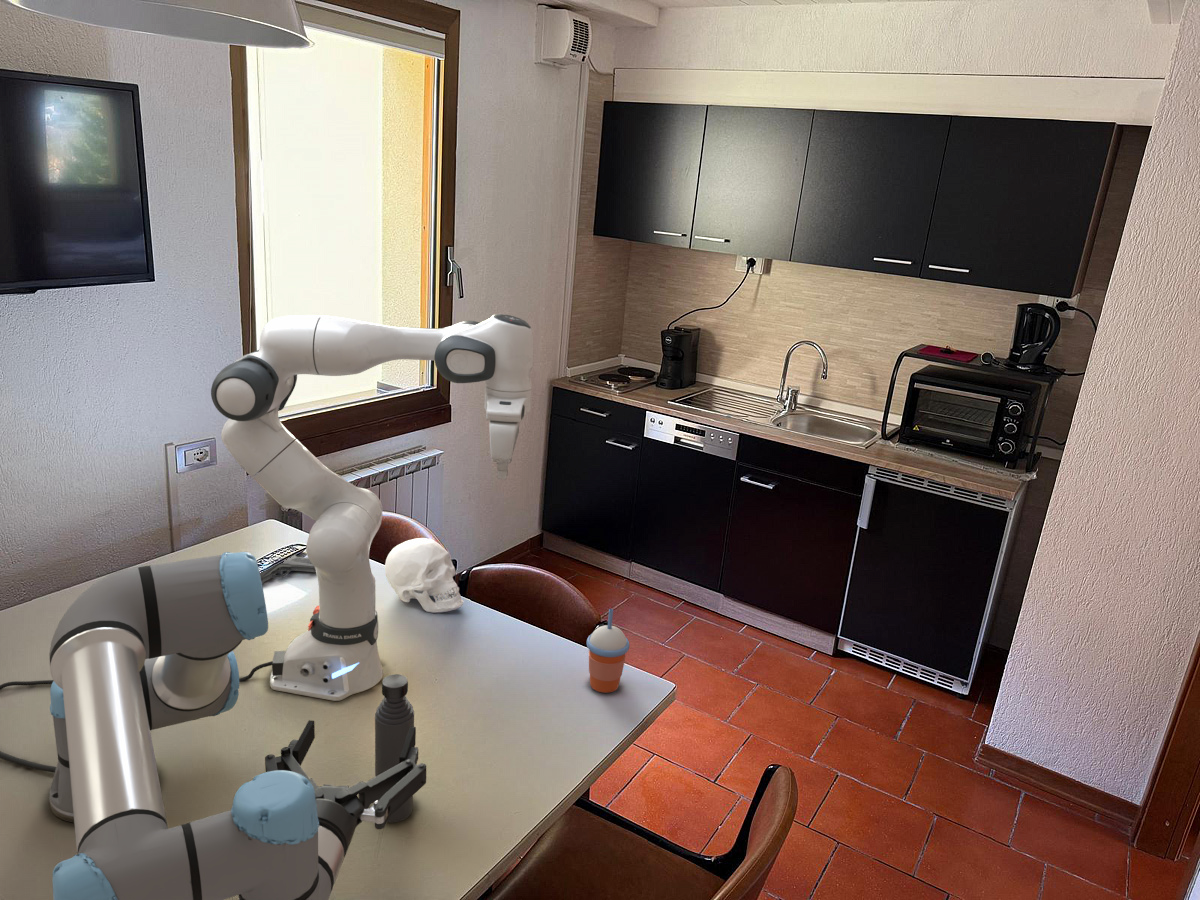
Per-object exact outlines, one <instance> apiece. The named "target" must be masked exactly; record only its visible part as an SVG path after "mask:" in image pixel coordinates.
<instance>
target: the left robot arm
mask: <svg viewBox="0 0 1200 900" xmlns="http://www.w3.org/2000/svg"><path fill="white" fill-rule="evenodd" d="M260 572H261V571H260V568H259V564H258V560H257V558H256V556H254V554H253V553H251V552H248V551H240V552H238V551H237V552H231V551H225V552H223V553H222V554H216V555H210V556H203V557H197V558H196V557H195V558H189V559H184V560H178V561H177V560H176V561H170V562H163V563H155V564H150V565H144V566H134V567H128V568H127V567H126V568H123V569H120V570H117V571H115V572H112V573H110V574H108V575H105V576H104V577H102V578H100V579H99V580H98V581H96V582H95V583H94V582H93V584H92V585H91V586H89V587H88V588H87V589H86V590H85V591H83V592H82V593H81V594H80V595H79V596H78V597H77V598H76V599H75V600H74V601H73V603H71V605H70V606H69V607H68V609H67V610H66V611H65V613H64V614H63V616H62V617H61V618H60V620H59V622H58V624H57V626H56V629H55V631H54V633H53V636H52V639H51V642H50V647H49V653H48V657H49V670H50V676H51V679H52V680H54V681H53V683H52V684H50V685H51V686H50V689H49V690H50V691H49V692H50V693H49V695H50V705H49V711H50V715H51V716H52V720H53V721H52V722H53V729H54V730H53V731H54V738H55V747H56V755H57V764H56V766H54V765H48V764H42V763H37V762H34V761H29V760H26V759H23V758H20V757H17V756H13V755H11V754H8V753H6V752H4V751H1V750H0V759H2V760H4V761H7V762H10V763H13V764H15V765H19V766H22V767H26V768H28V769H29V768H30V769H34V770H38V771H42V772H47V773H52V774H53V778H52V780H51V785H50V789H49V792H48V800H49V806H50V810H51V812H52V814H53V815H55V816H56V817H57V818H58V819H61V820H62V821H65V822H69V823H73V824H74V833H75V835H74V836H75V845H76V854H74V855H73V856H72V857H71V858H70V857H69V858H67V859H64V860H61V861H60V862H58V863H57V864H56V865H55V866H54V867H53V869H52V882H51V883H52V896H53V897H52V898H53V900H227V899H231V898H233V897H236V896H238V900H330V898H331V894H332V891H333V889H334V887H335V884H336V881H337V878H338V875H339V873H340V870H341V868H342V866H343V862H344V859H345V857H346V856H347V852H348V850H349V848H350V844H351V842H352V839H353V837H354V834H355V831H356V828H357V827H358V826H359V825H361V824H362V822H367V823H374V828H375V829H376V830H382V829H384V828H385V827H386V825H387V823H388V822H387V821H388V819H389V817H390V816H391V815H392V814H393V813H394V812H395V811H396V810H397V809H399V808H400V807H401V806H402V805H403V804H404V803H405V802H406V801H407V800H408V799H409V798H411V797H412V796H413V797H414V795H415V794H416V793H418V792H419V790H421V789H422V788H423V787H424V786H425V785H426V784H427V764H426V763H424V762H423V763H418V761H419V747H418V746H416V740H417V739H416V737H417V735H416V734H417V732H416V729H417V727H416V726H414V727H410V729H409V731H408V734H407V737H406V740H405V743H404V746H403V749H402V751H401V754H400V757H399V764H398V765H396V766H394V767H392V768H391V769H389V770H387V771H385V772H383V773H381V774H380V775H378V776H376V777H375V776H374V777H372V778H371V779H369V780H367V781H364V780H360V781H358V782H356V783H355V784H354V785H351V786H350V785H333V784H328V783H327V784H325V783H324V784H323V785H321V786H318V785H317V783H316V782H315V780H314V779H313V778H312V777H309V776H308V774H307V773H306V771H305V770H304V769H303V768H302V764H303V762H304V760H305V758H306V756H307V754H308V752H309V751H310V748H311V746H312V744H313V742H314V740H315V739H316V731H315V730H316V728H315V725H316V724H315V723H316V721H315V720H312V719H311V720H310V719H309V720H308V721H307V723H306V725H305V727H304V729H303V730H302V732H301V734H300V736H299V737H298V739H292V740H291V741H290V742H289V743H288V745H287V746H284V747H282V748H281V749H280V755H279V756H276V755H275V754H272V753H271V754H267V755H266V756H265V757H264V767H265V770H264V771H265V772H261V773H260V774H257V775H255V776H254V777H253V779H252V780H250V781H246V782H244V783H243V784H242V785H240V787H239V788H238V789H237V791H236V792H235V794H234V796H233V800H232V806H231V809H230V810H226V811H223V812H219V813H216V814H213V815H209V816H207V817H203V818H199V819H196V820H193V821H189V822H186V823H183V824H180V825H177V826H173V827H169V826H168V821H167V815H166V810H165V804H164V798H163V793H162V789H161V783H160V778H159V771H158V766H157V761H156V755H155V750H154V745H153V740H152V733H151V731H154V730H158V729H162V728H166V727H170V726H174V725H179V724H183V723H187V722H192V721H196V720H200V719H204V718H209V717H216V716H218V715H221V714H222V713H226V712H229V711H230V710H232V709H233V708H234V707H235V706H236V704H237V701H238V699H239V694H240V693H239V689H240V682H239V679H240V670H239V666H238V661H237V658H236V657H237V656H236V654H235V652H234V650H235V649H237V648H238V647H239V645H240V644H241V643H242V642H243V641H244V640H247V641H251V640H255V638H258V637H262V636H264V635H266V634H267V632H268V631H269V619H268V611H267V605H266V604H267V603H266V599H265V598H266V597H265V593H264V588H263V584H262V582H261V577H260ZM378 799H380V800H379V801H377V800H378ZM371 804H372V805H371Z"/></svg>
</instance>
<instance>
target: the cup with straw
mask: <svg viewBox="0 0 1200 900" xmlns="http://www.w3.org/2000/svg"><path fill="white" fill-rule="evenodd" d="M613 617H614V609H613V608H609V609H608V617H607V624H605V625H601V626H598V627H597V628H596V629H594V630H593V632H592V633H591V634H590V635H588V637H587V639H586V647H587V649H588V672H589V684H590V687H591V688H592V689H593V690H594V691H596V692H598V693H604V694H606V693H613V692H615V691H617V690H618V688H619V687H620V681H621V678H622V675H623V672H624V671H623V670H624V666H625V661H626V654H627V652H629V649H630V641H629V639H628V638H627V636H626V635H625V633H624V632H623V631H622V630H621V629H620V628H618V627H617V626H615V625H613Z"/></svg>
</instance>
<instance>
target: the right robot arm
mask: <svg viewBox="0 0 1200 900" xmlns="http://www.w3.org/2000/svg"><path fill="white" fill-rule="evenodd" d="M534 342H535V341H534V333H533V329H532V327H531V326H530V324H529V323H528V322H527V321H526V320H524V319H522V318H520V317H518V316H513V315H511V314H503V313H498V314H493V315H492V316H491V317H490V318H488V319H486V320H483V321H481V322H479V321H475V320H465V321H461V322H460V321H459V322H458V323H455V324H453V325H450V326H446V327H442V328H441V327H440V328H438V327H437V328H434V327H431V328H430V327H412V326H411V327H409V326H408V327H407V326H393V325H392V326H391V325H384V324H379V323H373V322H367V321H361V320H356V319H351V318H347V317H346V318H345V317H340V316H339V317H338V316H330V315H315V314H311V315H310V314H307V315H306V314H304V315H302V314H301V315H285V316H279V317H274V318H271V319H270V320H268V321H267V322H266V323H265V325H264V326H263V328H262V330H261V331H260V336H259V348H258V349H257V350H254V351H253V352H250V353H247V354H244V355H242V356H240V357H238V358H237V359H235V361H233V362H232V363H230V364H228V365H227V366H225V367H224V368H222V369H221V370H220V371H219V373H218V374H217V375H216V376H215V378H214V379H213V382H212V384H211V388H210V396H211V401H212V403H213V406H214V407H215V409H216V410H217V411H218V412H219V413H220V414H221V415H222V416H223V417H225V418H227V420H226V421H225V422H224V424H223V426H222V429H221V432H220V438H221V442H222V444H223V445H224V446H225V447H226V450H227V451H228V452H229V454H230V455H231V456H232V457H233V458H234V460H235V461H236V462H237V463H238V464H239V465H240V467H241V468H242V469H243V470H244V471H245V472H246V473H247V475H249V476H250V477H251V478H252V480H254V481H255V483H257V484H258V485H259V486H260V487H261V488H262V489H263V490H264V492H266V493H267V494H268V495H269V496H270V497H271V498H273V499H274V500H275V502H277V503H278V504H279V505H280V506H281V507H283V508H286V509H291V510H296V511H297V512H300V513H301V514H303V515H306V516H307V517H309V518H310V519H311V520H314V524H313V525H312V526H311V528H310V531H309V534H308V536H307V541H306V545H305V552H306V556H307V558H309V560H310V561H311V563H312V564H313V565H314V566H315V570H316V572H315V574H316V577H317V583H318V584H317V585H318V605H316V607H314V610H313V611H312V615H311V617H310V619H309V623H308V625H307V628H308V629H307V630H306V631H304V632H302V633H301V634H299V635H297V636H296V637H295V638H294V639H293V640H292V641H291V642H290V643H289V644H288V646H287V648H286V649H285V650H274V652H273V657H272V661H268V662H264V663H261V664H258V665H256V666H254V667H253V668H251V671H250V672H249V673H248V674H247V675H245V676H243V677H239V683H241V682H246V681H249V680H250V679H251V678H252V677H253V676H254V675H255V673H256V672H257V671H258V670H261V669H264V668H267V667H271V673H270V676H269V686H270V688H271V689H272V690H274V691H278V692H283V693H289V694H295V695H300V696H304V697H305V696H306V697H310V698H315V699H316V698H317V699H322V700H327V701H334V702H339V701H340V702H341V701H342V700H344V699H346V698H348V697H350V696H351V695H355V694H358V693H363V692H364V691H367V690H369V689H371V688H373V687H374V686H377V685H378V684H379V682H380V681H382V680H383V678H384V668H383V666H382V662H381V658H380V654H379V649H378V641H377V640H378V637H379V619H378V617H379V615H378V611H377V610H376V577H375V576H374V574H373V572H372V567H371V563H370V550H371V549H370V548H371V545H372V543H373V540H374V538H375V536H376V534H377V533H378V531H379V530H380V528H381V525H382V522H383V521H382V519H383V504H382V501H381V500H380V498H379V497H378V495H377V494H376V493H374V492H373V491H371V489H367V488H364V487H358V486H356V485H354V484H353V483H351V482H350V481H348V480H346V479H344V478H343V477H341V476H340V475H338V474H337V473H336V472H334V471H332V470H331V469H330V468H329V467H327V466H326V465H324V464H323V463H322V462H321V460H319V459H318V458H317V457H316V456H315V455H314V454H313V453H312V452H311V451H310V450H309V449H308V448H307V447H306V446H305V445H304V444H303V443H302V442H301V441H300V440H299V439H298V438H296V437H295V436H294V435H293V434H292V433H291V432H290V431H289V430H288V429H287V428H286V427H285V425H284V424H283V423H282V422H281V420H280V417H279V412H280V411H282V410H283V409H284V408H285V406H286V405H287V402H288V401H289V399H290V397H291V395H292V393H293V392H294V390H295V387H296V385H297V380H298V375H314V376H325V377H342V376H343V377H344V376H351V375H358V374H361V373H364V372H366V371H368V370H370V369H373V368H374V367H376V366H377V367H378V366H379V365H382V364H384V363H387V362H392V361H398V360H399V361H400V360H410V361H412V360H413V361H434V365H435V368H436V369H437V371H438V373H439V375H441V376H442V378H444V379H445V380H447V381H449V382H450V383H454V384H472V383H480V382H484V403H483V404H484V405H483V409H484V411H485V419H486V421H488V431H489V432H488V433H489V452H490V458H491V462H494V463H496V469H497V474H496V476H497V479H498V480H507V478H508V471H509V465H510V464H511V463H512V460H513V454H514V450H515V447H516V444H517V440H518V436H519V432H520V424H521V422H522V421H523V420H524V419H525V416H527V414H530V412H531V410H532V392H533V385H532V378H531V376H532V375H531V374H532V370H533V367H534V353H535V347H534V345H535V344H534ZM53 681H54V680H53V679H51V680H50V679H47V680H45V679H44V680H30V681H25V680H23V681H21V680H18V681H17V680H16V681H7V682H4V683H2V684H0V691H1V690H3V689H4V688H7V687H12V686H38V685H39V686H40V685H41V686H42V685H52V683H53Z"/></svg>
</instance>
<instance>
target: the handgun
mask: <svg viewBox="0 0 1200 900" xmlns="http://www.w3.org/2000/svg"><path fill="white" fill-rule="evenodd" d="M292 571H294V572H295V571H296V572H307V573H316V570H315V566H314V565H313V564H312V563H311V561H310V560H309V558H308V556H307V557H304V556H303V557H300V556H297V555H296V554H295V555H294V556H292V557H291V558H288V559H287V560H284V562H283V563H281V564H277V565H275V566H273V567H272V568H270V569H268V570H266V571H263V572H261V571H260V572H261V573H260V577H261V582H262V585H263V584H264V583H265V582H267V581H268V580H270V579H272V578H273V579H282V578H285V577H286V576H287V575H289V573H290V572H292ZM284 572H285V573H284ZM277 574H279V575H277Z"/></svg>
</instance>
